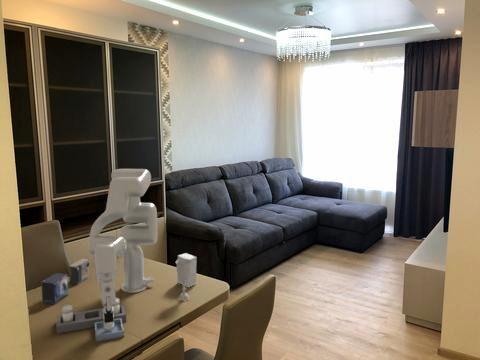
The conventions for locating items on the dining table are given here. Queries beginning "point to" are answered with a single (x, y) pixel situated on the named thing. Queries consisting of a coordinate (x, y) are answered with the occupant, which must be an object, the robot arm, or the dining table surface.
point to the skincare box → (192, 276)
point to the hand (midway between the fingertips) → (108, 318)
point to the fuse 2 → (116, 307)
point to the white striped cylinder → (111, 324)
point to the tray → (111, 334)
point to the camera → (79, 271)
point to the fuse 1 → (67, 313)
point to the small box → (54, 288)
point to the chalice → (183, 275)
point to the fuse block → (86, 319)
